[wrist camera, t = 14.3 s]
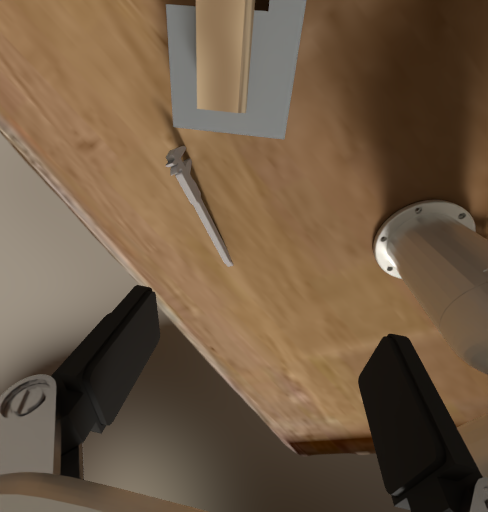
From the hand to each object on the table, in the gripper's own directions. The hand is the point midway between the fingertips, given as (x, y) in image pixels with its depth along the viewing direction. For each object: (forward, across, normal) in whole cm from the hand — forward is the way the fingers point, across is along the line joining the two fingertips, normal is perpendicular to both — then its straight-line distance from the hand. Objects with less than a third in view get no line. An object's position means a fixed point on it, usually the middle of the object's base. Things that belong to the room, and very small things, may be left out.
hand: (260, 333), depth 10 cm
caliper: (+28, +10, +7) cm, 31 cm away
